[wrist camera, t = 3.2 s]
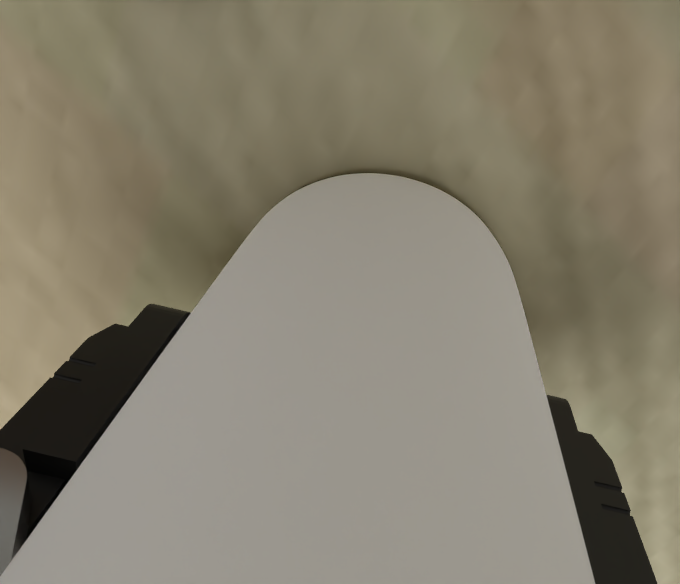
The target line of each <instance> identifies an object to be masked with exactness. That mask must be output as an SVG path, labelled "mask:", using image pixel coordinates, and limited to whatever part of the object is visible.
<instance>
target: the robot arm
mask: <svg viewBox="0 0 680 584" xmlns="http://www.w3.org/2000/svg"><path fill="white" fill-rule="evenodd" d="M190 314H191V313H190V312H186V311H181V310H177V309H173V308H168V307H164V306H160V305H155V304H149V305H147V306H146V307H145V308H144V309H143V311H142V312H141V313H140V314H139V315H138V316H137V317H136V319H135V320H134V321H133V322H132V323H131V324H130V325H129V327H127V326H123V325H118V324H114V325H112V326H110V327H108V328H106V329H104V330H102V331H100V332H98V333H96V334H95V335H93V336H91V337H89V338H88V339H87V340H86V341H85V342H84V343H83V344H82V345H81V346H80V347H79V348H78V349H77V350H76V351H75V352H74V353H73V354H72V355H71V356H70V360H69V361H66V362H65V363H64V364H63V365H62V366H61V367H60V368H59V369H58V370H57V371H56V372H55V373H54V377H53V378H50V379H49V380H48V381H47V382H46V383H45V384H44V385H43V386H42V387H41V388H40V389H39V390H38V391H37V392H36V393H35V394H34V395H33V396H32V397H31V398H30V399H29V401H28V402H27V403H26V404H25V405H24V406H23V407H22V408H21V409H20V410H19V411H18V412H17V413H16V414H15V415H14V416H13V417H12V418H11V419H10V420H9V421H8V423H7V424H6V425H5V426H4V427H3V428H2V429H1V430H0V576H1V575H2V573H3V572H4V570H5V569H6V568H7V566H8V565H9V563H10V562H11V561H12V559H13V558H14V557H15V555H16V554H17V552H18V551H19V550H20V548H21V547H22V545H23V544H24V543H25V541H26V540H27V539H28V537H29V536H30V534H31V533H32V532H33V530H34V529H35V527H36V526H37V525H38V523H39V522H40V520H41V519H42V518H43V516H44V515H45V514H46V512H47V511H48V509H49V508H50V507H51V505H52V504H53V502H54V501H55V500H56V498H57V497H58V496H59V494H60V493H61V491H62V490H63V489H64V487H65V486H66V484H67V483H68V482H69V480H70V479H71V478H72V476H73V475H74V473H75V472H76V471H77V469H78V468H79V466H80V465H81V464H82V462H83V461H84V459H85V458H86V457H87V455H88V454H89V453H90V451H91V450H92V448H93V447H94V446H95V444H96V443H97V442H98V440H99V439H100V437H101V436H102V435H103V433H104V432H105V431H106V429H107V428H108V426H109V425H110V424H111V422H112V421H113V419H114V418H115V417H116V415H117V414H118V413H119V411H120V410H121V408H122V407H123V406H124V404H125V403H126V402H127V400H128V399H129V397H130V396H131V395H132V393H133V392H134V391H135V389H136V388H137V386H138V385H139V384H140V382H141V381H142V379H143V378H144V377H145V375H146V374H147V373H148V371H149V370H150V368H151V367H152V366H153V364H154V363H155V362H156V360H157V359H158V357H159V356H160V355H161V353H162V352H163V351H164V349H165V348H166V346H167V345H168V344H169V342H170V341H171V340H172V338H173V337H174V335H175V334H176V333H177V331H178V330H179V329H180V327H181V326H182V325H183V323H184V322H185V320H186V319H187V318H188V316H189V315H190ZM546 396H547V399H548V403H549V407H550V411H551V415H552V419H553V422H554V426H555V430H556V434H557V438H558V442H559V445H560V449H561V453H562V457H563V461H564V465H565V469H566V472H567V476H568V480H569V484H570V488H571V492H572V496H573V499H574V503H575V507H576V511H577V515H578V519H579V523H580V526H581V530H582V534H583V538H584V542H585V546H586V550H587V553H588V557H589V561H590V565H591V569H592V573H593V577H594V581H595V584H657V581H656V578H655V576H654V573H653V570H652V568H651V565H650V562H649V559H648V557H647V554H646V551H645V549H644V546H643V543H642V540H641V538H640V535H639V532H638V529H637V527H636V524H635V521H634V519H633V517H632V516H630V511H631V510H630V508H629V505H628V502H627V500H626V497H625V494H624V493H622V492H621V489H622V486H621V483H620V481H619V478H618V475H617V472H616V470H615V467H614V464H613V461H612V460H611V458H610V457H609V456H608V455H607V453H606V452H605V451H604V450H603V448H602V447H601V446H600V444H599V443H598V442H597V441H596V439H595V438H594V437H593V436H592V435H591V434H587V433H583V432H578V430H577V426H576V423H575V420H574V417H573V414H572V411H571V407H570V405H569V403H568V401H567V400H566V399H563V398H559V397H554V396H550V395H546Z"/></svg>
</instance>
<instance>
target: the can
mask: <svg viewBox="0 0 680 584" xmlns="http://www.w3.org/2000/svg"><path fill="white" fill-rule="evenodd" d="M0 584H595V581H594V577H593V573H592V569H591V565H590V561H589V557H588V553H587V550H586V546H585V542H584V538H583V534H582V530H581V526H580V523H579V519H578V515H577V511H576V507H575V503H574V499H573V496H572V492H571V488H570V484H569V480H568V476H567V472H566V469H565V465H564V461H563V457H562V453H561V449H560V445H559V442H558V438H557V434H556V430H555V426H554V422H553V419H552V415H551V411H550V407H549V403H548V399H547V396H546V392H545V388H544V384H543V380H542V377H541V373H540V369H539V365H538V361H537V358H536V354H535V350H534V346H533V343H532V339H531V335H530V331H529V327H528V324H527V320H526V316H525V313H524V309H523V305H522V302H521V298H520V295H519V291H518V288H517V285H516V281H515V278H514V275H513V272H512V270H511V267H510V265H509V263H508V260H507V258H506V256H505V254H504V252H503V250H502V249H501V247H500V245H499V244H498V242H497V240H496V239H495V237H494V236H493V235H492V233H491V232H490V230H489V229H488V228H487V226H486V225H485V224H484V223H483V222H482V221H481V219H480V218H479V217H478V216H477V215H476V214H475V213H474V212H472V211H471V210H470V209H469V208H468V207H467V206H465V205H464V204H463V203H461V202H460V201H458V200H457V199H455V198H454V197H452V196H450V195H449V194H447V193H445V192H443V191H441V190H439V189H437V188H435V187H433V186H430V185H428V184H425V183H422V182H419V181H416V180H413V179H409V178H405V177H401V176H395V175H388V174H378V173H358V174H347V175H341V176H336V177H331V178H327V179H324V180H321V181H318V182H315V183H312V184H310V185H307V186H305V187H303V188H301V189H299V190H297V191H295V192H294V193H292V194H290V195H289V196H287V197H286V198H284V199H283V200H281V201H280V202H279V203H278V204H276V205H275V206H274V207H273V208H272V209H271V210H270V211H269V212H268V213H267V214H266V215H265V216H264V217H263V218H262V219H261V220H260V221H259V222H258V224H257V225H256V226H255V227H254V229H253V230H252V231H251V232H250V234H249V235H248V236H247V238H246V239H245V240H244V242H243V243H242V244H241V246H240V247H239V248H238V250H237V251H236V252H235V254H234V255H233V256H232V258H231V259H230V260H229V262H228V263H227V264H226V266H225V267H224V268H223V270H222V271H221V273H220V274H219V275H218V277H217V278H216V279H215V281H214V282H213V283H212V285H211V286H210V288H209V289H208V290H207V292H206V293H205V294H204V296H203V297H202V298H201V300H200V301H199V303H198V304H197V305H196V307H195V308H194V309H193V311H192V312H191V314H190V315H189V316H188V318H187V319H186V320H185V322H184V323H183V325H182V326H181V327H180V329H179V330H178V331H177V333H176V334H175V335H174V337H173V338H172V340H171V341H170V342H169V344H168V345H167V346H166V348H165V349H164V351H163V352H162V353H161V355H160V356H159V357H158V359H157V360H156V362H155V363H154V364H153V366H152V367H151V368H150V370H149V371H148V373H147V374H146V375H145V377H144V378H143V379H142V381H141V382H140V384H139V385H138V386H137V388H136V389H135V391H134V392H133V393H132V395H131V396H130V397H129V399H128V400H127V402H126V403H125V404H124V406H123V407H122V408H121V410H120V411H119V413H118V414H117V415H116V417H115V418H114V419H113V421H112V422H111V424H110V425H109V426H108V428H107V429H106V431H105V432H104V433H103V435H102V436H101V437H100V439H99V440H98V442H97V443H96V444H95V446H94V447H93V448H92V450H91V451H90V453H89V454H88V455H87V457H86V458H85V459H84V461H83V462H82V464H81V465H80V466H79V468H78V469H77V471H76V472H75V473H74V475H73V476H72V478H71V479H70V480H69V482H68V483H67V484H66V486H65V487H64V489H63V490H62V491H61V493H60V494H59V496H58V497H57V498H56V500H55V501H54V502H53V504H52V505H51V507H50V508H49V509H48V511H47V512H46V514H45V515H44V516H43V518H42V519H41V520H40V522H39V523H38V525H37V526H36V527H35V529H34V530H33V532H32V533H31V534H30V536H29V537H28V539H27V540H26V541H25V543H24V544H23V545H22V547H21V548H20V550H19V551H18V552H17V554H16V555H15V557H14V558H13V559H12V561H11V562H10V563H9V565H8V566H7V568H6V569H5V570H4V572H3V573H2V575H1V576H0Z"/></svg>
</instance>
